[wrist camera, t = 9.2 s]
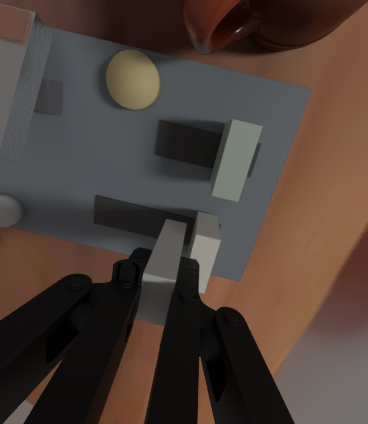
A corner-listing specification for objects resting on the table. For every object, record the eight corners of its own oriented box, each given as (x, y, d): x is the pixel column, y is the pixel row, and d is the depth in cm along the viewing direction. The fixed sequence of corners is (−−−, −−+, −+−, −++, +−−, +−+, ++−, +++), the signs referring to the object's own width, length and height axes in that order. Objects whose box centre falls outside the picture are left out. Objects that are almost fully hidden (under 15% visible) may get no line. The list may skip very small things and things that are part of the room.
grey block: (225, 121, 15) (232, 119, 11) (248, 127, 15) (262, 126, 11) (210, 180, 16) (211, 195, 13) (230, 185, 16) (238, 202, 13)
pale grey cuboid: (198, 211, 17) (196, 234, 13) (217, 216, 17) (221, 240, 13) (186, 256, 19) (181, 288, 15) (204, 260, 19) (204, 293, 15)
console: (10, 28, 17) (-53, -5, 13) (294, 95, 17) (324, 84, 13) (17, 210, 22) (-26, 229, 18) (235, 262, 22) (242, 293, 18)
